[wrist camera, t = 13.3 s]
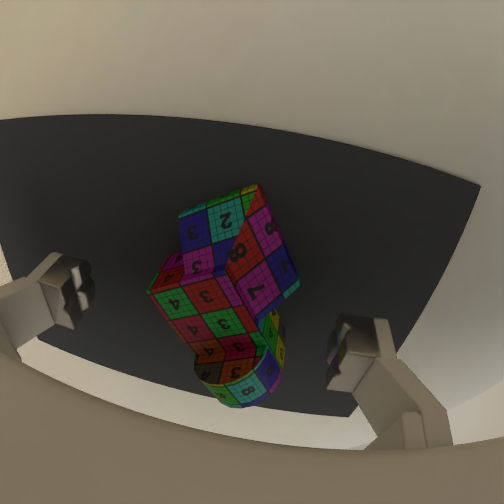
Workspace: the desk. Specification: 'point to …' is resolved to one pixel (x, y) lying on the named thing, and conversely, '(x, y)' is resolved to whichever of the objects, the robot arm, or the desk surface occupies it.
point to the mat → (205, 189)
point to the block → (229, 294)
